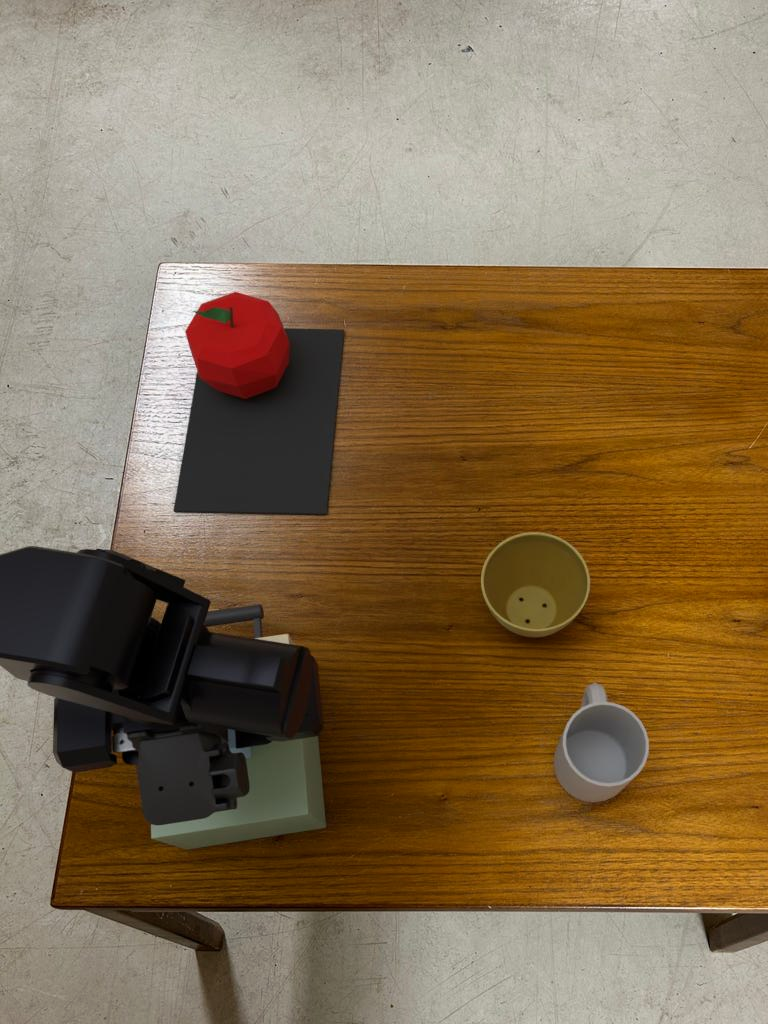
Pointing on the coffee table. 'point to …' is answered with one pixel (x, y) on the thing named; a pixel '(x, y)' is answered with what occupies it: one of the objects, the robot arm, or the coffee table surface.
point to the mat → (266, 438)
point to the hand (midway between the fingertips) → (224, 737)
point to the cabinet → (262, 800)
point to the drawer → (243, 615)
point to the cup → (600, 748)
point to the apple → (238, 344)
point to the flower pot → (535, 583)
